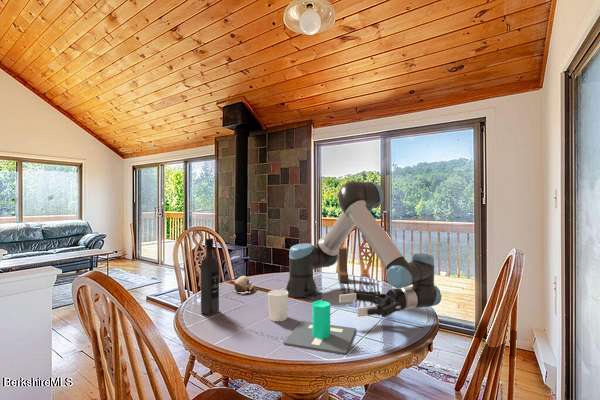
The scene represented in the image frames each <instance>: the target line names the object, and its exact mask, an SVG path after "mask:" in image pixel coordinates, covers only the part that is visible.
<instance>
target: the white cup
mask: <svg viewBox="0 0 600 400" xmlns="http://www.w3.org/2000/svg"><path fill="white" fill-rule="evenodd" d="M267 300H268V301H267V303H268V312H269V313H268V315H269V320H270V321H272V322H276V321H277V322H279V321H280V322H283V321H284V322H285V321H286V320H287V319H288V311H289V308H288V307H289V306H288V305H289V295H288V291H286V289H272V290H269V291H268V292H267ZM277 322H276V323H277Z"/></svg>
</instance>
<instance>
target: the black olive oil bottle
mask: <svg viewBox="0 0 600 400" xmlns="http://www.w3.org/2000/svg"><path fill="white" fill-rule="evenodd" d="M205 249H206V250H205V252H206V253H205V257H204V258H203V259H202V260H201V262H200V313H201V312H202V313H201V314H203V313H205V315H207V314H212V315H213V313H214V314H216V313H218V312H219V311H220V286H219V285H220V280H219V279H220V276H219V275H220V272H219V271H220V270H219V269H220V267H219V266H220V265H219V260H218V258H217V257H216V256H214V238H206V239H205ZM217 311H218V312H217ZM215 312H216V313H215Z"/></svg>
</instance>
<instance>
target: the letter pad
mask: <svg viewBox="0 0 600 400" xmlns="http://www.w3.org/2000/svg"><path fill="white" fill-rule="evenodd" d="M356 331H357V328H356V327H349V326H343V325H334V324H330V337H328V338H325V339H318V338H315V337H314V336H313V321H305V320H301V322H300V323H299V324H298V325H297V326H296V327H295V328H294V329H293V331H292V332H291V333H290V334H289V335H288V337H287V338H286V339H285V340H284V341H283V345H284V344H285V345H286V346H290V345H291V347H298V348H304V349H309V350H310V349H311V350H317V351H321V352H329V353H334V354H341V355H347V353H348V350H349V349H350V346H351V343H352V341H353V339H354V335H355V333H356Z"/></svg>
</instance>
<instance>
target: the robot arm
mask: <svg viewBox="0 0 600 400" xmlns="http://www.w3.org/2000/svg"><path fill="white" fill-rule="evenodd" d="M384 196H385V195H384V190H383V188H382V187H381V186H380V185H379V184H378V183H377V182H372V181H356V180H355V181H353V180H352V181H348V182H346V183H344V184H342V186H341V187H340V188H339V190H338V195H337V200H338V204H339V207H340V208H341V210H342V211H341V214H339V216H338V217H337V219H336V221H335V222H334V223H333V225H332V226H331V228H330V229H329V230H328V232H327V234H326V235H325V236H324V237H321V238H319V240H318V241H317V243H316V244H312V243H307V242H306V243H297V244H294V245H292V246H290V248H289V252H288V253H289V255H288V257H289V260H288V261H289V266H288V267H289V270H288V271H289V278H288V281H287V284H286V287H285V290H286V291H288V296H289V295H290V297H293V298H310V297H314V296H316V295H317V293H318V288H317V285H316V281H315V278H314V270H317V269H322V268H328V267H331V266H333V265H335V264H336V263H337V262H338V258H339V256H338V255H339V247H341V245H342V244H343V242H344V241H345V240H346V238H347V237H348V236H349V235H350V234H351V232H352V230H353V229H354V228H355V227H356V228H357V230H358V231H359V232H360V233H361V235H362V236H363V238H364V239H365V240H366V242H367V243H368V245H369V247H370V248H371V249H372V251H373V252H374V254H375V255H376V256H377V258H378V259H379V260H380V262H381V263H382V265H383V266H384V268H385V269H386V273H385V276H386V281H387V282H388V284H389V285H390V286H392V287H393V288H391V289H389V290H388V291H387V292H386V293H381V291H370V290H369V291H366V290H365V291H364V290H363V291H362V290H354V292H353V293H345V294H344V293H343V294H339V295H338V297H339V298H338V300H339V301H338V302H339V303H340V304H343V303H352V302H355V303H356V302H357V301H362V302H370V303H373V304H375V305H368V306H361V307H359V306H358V307H356V316H357V317H360V318H361V317H366V316H367V317H368V316H374V315H375V316H381V317H382V318H385V317H388V316H390V315H392V314H393V313H395V312H400V311H403V310H406V311H409V310H410V309H411V310H412V309H417V308H419V309H420V308H429V307H434V306H437V305H439V304H440V303H441V301H442V294H441V290H440V288H439V287H438V286H437V285H435V266H436V265H435V258H434V256H433V255H432V254H429V253H414V254H413V256H412V258H411V261H410V262H408V261H407V259H406V258H405V257H404V255H403V254H402V253H401V251H400V250H399V249H398V247H397V246H396V245H395V243H394V242H393V240H391V238H390V236H388V234H387V232H385V230H384V229H383V227H382V226H381V225H380V223H379V222H378V221H377V220H376V218H375V217H374V216H373V214H372V210H373V209H377V208H379V207H380V206H381V205H383V201H384V199H385V198H384Z"/></svg>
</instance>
